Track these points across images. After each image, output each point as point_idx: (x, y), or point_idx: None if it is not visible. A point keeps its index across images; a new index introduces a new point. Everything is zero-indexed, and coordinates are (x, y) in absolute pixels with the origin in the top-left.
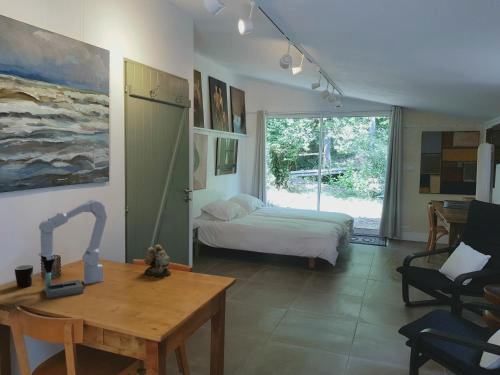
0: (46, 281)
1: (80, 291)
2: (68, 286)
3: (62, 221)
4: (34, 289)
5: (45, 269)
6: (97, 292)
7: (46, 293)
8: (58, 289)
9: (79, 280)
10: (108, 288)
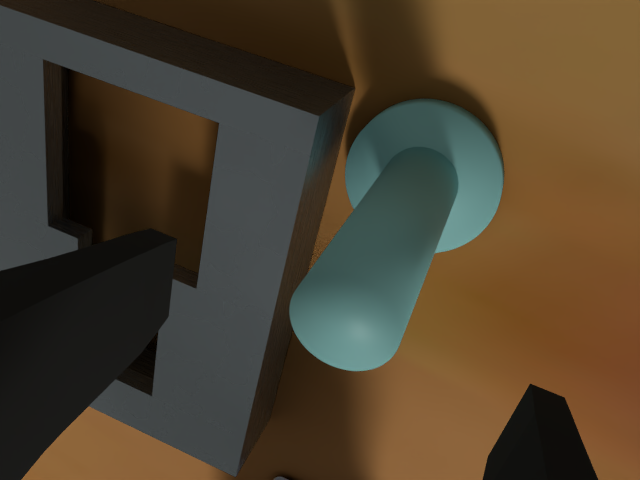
0: (375, 192)
1: None
2: None
3: None
4: (617, 13)
5: (108, 261)
6: None
7: (94, 17)
8: (5, 151)
9: (205, 462)
10: (63, 473)
